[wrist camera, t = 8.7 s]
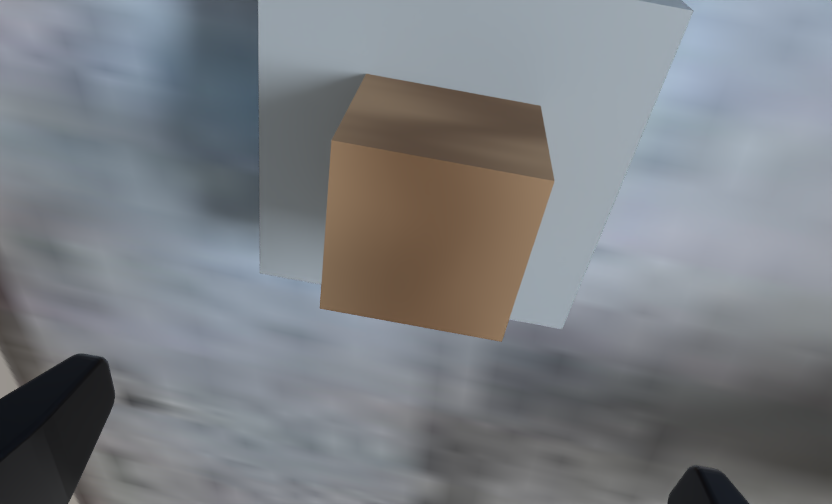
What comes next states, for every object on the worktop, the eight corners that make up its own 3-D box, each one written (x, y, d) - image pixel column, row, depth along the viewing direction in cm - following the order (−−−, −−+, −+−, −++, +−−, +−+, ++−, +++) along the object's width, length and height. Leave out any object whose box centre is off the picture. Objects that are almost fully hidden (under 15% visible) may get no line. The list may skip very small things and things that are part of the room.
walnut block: (540, 105, 15) (554, 180, 12) (499, 247, 18) (501, 341, 14) (366, 73, 15) (331, 140, 12) (351, 220, 18) (319, 308, 14)
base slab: (661, -17, 16) (693, 11, 13) (553, 273, 22) (562, 329, 19) (293, -86, 16) (257, -71, 13) (285, 223, 21) (259, 273, 19)
